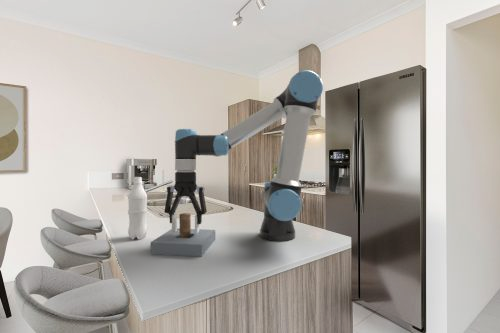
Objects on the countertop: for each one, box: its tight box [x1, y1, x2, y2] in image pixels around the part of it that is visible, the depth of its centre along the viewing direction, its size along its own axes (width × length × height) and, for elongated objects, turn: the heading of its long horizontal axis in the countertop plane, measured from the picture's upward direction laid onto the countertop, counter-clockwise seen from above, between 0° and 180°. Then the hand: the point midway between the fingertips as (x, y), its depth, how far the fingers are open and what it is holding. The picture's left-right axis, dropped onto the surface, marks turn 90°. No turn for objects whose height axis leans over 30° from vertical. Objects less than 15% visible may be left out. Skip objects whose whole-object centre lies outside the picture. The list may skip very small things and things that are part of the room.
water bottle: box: [127, 176, 148, 241], centre depth 103 cm, size 7×7×25 cm
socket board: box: [150, 227, 216, 258], centre depth 94 cm, size 18×18×4 cm
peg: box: [179, 212, 192, 238], centre depth 94 cm, size 4×4×12 cm
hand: (185, 232), depth 94 cm, fingers open, 8 cm apart
